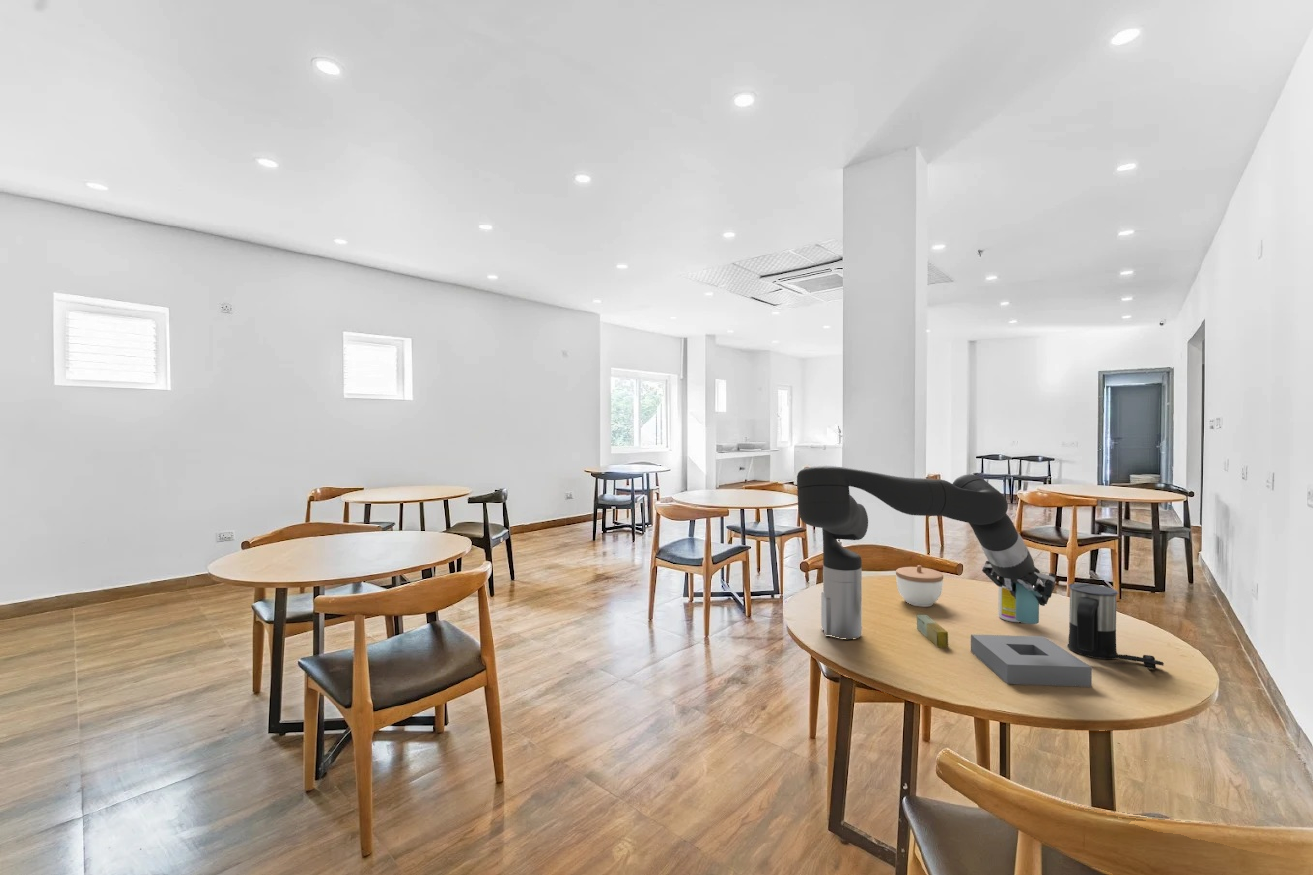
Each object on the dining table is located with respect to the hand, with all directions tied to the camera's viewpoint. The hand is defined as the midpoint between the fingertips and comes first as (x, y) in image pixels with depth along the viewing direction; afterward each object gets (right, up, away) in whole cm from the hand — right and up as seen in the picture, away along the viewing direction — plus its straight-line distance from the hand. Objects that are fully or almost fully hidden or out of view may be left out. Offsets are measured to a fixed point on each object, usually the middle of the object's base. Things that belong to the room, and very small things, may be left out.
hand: (1031, 599), depth 120 cm
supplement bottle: (+15, -14, +29) cm, 36 cm away
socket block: (-1, -15, 0) cm, 15 cm away
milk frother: (+21, -15, +4) cm, 26 cm away
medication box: (-13, -15, +17) cm, 26 cm away
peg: (-2, -4, -1) cm, 5 cm away
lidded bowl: (-4, -14, +43) cm, 45 cm away
